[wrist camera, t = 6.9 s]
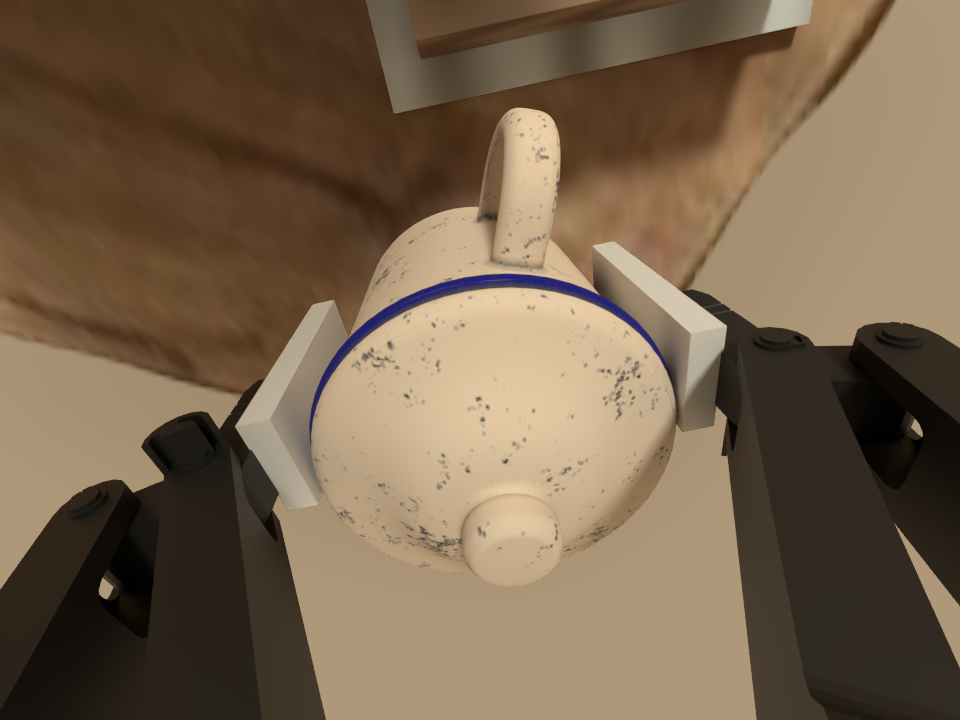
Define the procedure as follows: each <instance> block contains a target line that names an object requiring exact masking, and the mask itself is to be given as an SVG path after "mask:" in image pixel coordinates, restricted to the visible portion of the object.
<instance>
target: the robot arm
mask: <svg viewBox="0 0 960 720" xmlns="http://www.w3.org/2000/svg"><path fill="white" fill-rule="evenodd" d="M592 259H593V280H594V289H595V290H596V291H597V292H598V293H599V295H600V296H602V297H604V298H606V299H608V300H609V301H611V302H612V303H614V304H615V305H617V306H618V307H620V308H622V309H623V310H624V311H625V312H627V313H628V314H629V315H630V316H631V317H632V318H634V319H635V320H636V321H637V322H638V323H639V324H640V325H641V327H642V328H643V329H644V330H645V331H646V332H647V333H648V334H649V336H650V337H651V339H652V340H653V341H654V343H655V344H656V346H657V347H658V349H659V351H660V353H661V355H662V357H663V358H664V360H665V363H666V366H667V368H668V371H669V374H670V378H671V382H672V388H673V392H674V397H675V402H676V424H677V425H678V427H679V428H680V429H681V431H682V432H685V431H690V430H694V429H699V428H705V427H710V426H714V419H715V411H716V406H717V407H718V408H719V409H720V410H721V411H722V412H723V413H724V414H725V416H726V417H727V422H726V428H725V434H724V441H723V447H722V454H721V455H722V456H727V455H728V464H729V473H730V483H731V491H732V501H733V509H734V519H735V527H736V536H737V546H738V555H739V564H740V572H741V582H742V591H743V599H744V609H745V618H746V627H747V636H748V644H749V654H750V662H751V671H752V681H753V690H754V699H755V708H756V717H757V720H960V668H959V665H958V663H957V661H956V659H955V657H954V654H953V652H952V650H951V648H950V646H949V643H948V641H947V639H946V637H945V634H944V632H943V630H942V628H941V626H940V624H939V621H938V619H937V617H936V615H935V612H934V610H933V608H932V606H931V603H930V601H929V599H928V597H927V595H926V593H925V590H924V588H923V586H922V584H921V581H920V579H919V577H918V575H917V572H916V570H915V568H914V566H913V564H912V561H911V559H910V557H909V555H908V553H907V550H906V548H905V546H904V544H903V541H902V539H901V537H900V535H899V533H898V531H897V528H896V526H895V524H896V525H897V527H898V528H899V529H900V530H901V532H902V533H903V534H904V536H905V537H906V538H907V539H908V541H909V542H910V543H911V544H912V546H913V547H914V548H915V550H916V551H917V552H918V553H919V555H920V556H921V557H922V558H923V560H924V561H925V562H926V564H927V565H928V566H929V567H930V569H931V570H932V571H933V573H934V574H935V575H936V576H937V578H938V579H939V580H940V581H941V583H942V584H943V585H944V586H945V588H946V589H947V590H948V591H949V593H950V594H951V595H952V597H953V598H954V599H955V600H956V602H957V603H958V604H959V606H960V348H959V347H957V346H956V345H954V344H952V343H951V342H949V341H948V340H946V339H945V338H943V337H942V336H940V335H938V334H936V333H934V332H932V331H929V330H927V329H924V328H919V327H916V326H914V325H912V324H906V323H903V324H901V323H898V322H890V323H875V324H869V325H865V326H863V327H861V328H859V329H858V330H857V333H856V336H855V339H854V342H853V346H814V344H813V343H812V342H811V341H810V339H809V338H808V337H806V336H804V335H802V334H800V333H798V332H795V331H792V330H788V329H783V328H773V327H766V328H757V327H756V326H754V325H753V324H752V323H750V322H749V321H747V320H746V319H744V318H743V317H741V316H740V315H738V314H737V313H735V312H734V311H730V308H728V307H727V306H725V305H724V304H721V302H719V301H718V300H716V299H715V298H713V297H712V296H710V295H708V294H705V293H702V292H699V291H695V290H693V289H692V290H687V291H682V292H681V291H679V290H678V289H677V288H675V287H674V286H673V285H671V284H670V283H669V282H667V281H666V280H665V279H663V278H662V277H661V276H659V275H658V274H657V273H655V272H654V271H653V270H651V269H650V268H649V267H647V266H646V265H645V264H643V263H642V262H641V261H639V260H638V259H637V258H635V257H634V256H633V255H631V254H630V253H629V252H627V251H626V250H625V249H623V248H622V247H621V246H619V245H618V244H617V243H615V242H614V241H613V242H608V243H603V244H599V245H594V246H592ZM348 338H349V337H348V334H347V332H346V329H345V327H344V324H343V322H342V319H341V316H340V314H339V311H338V309H337V306H336V304H335V301H334V300H331V301H327V302H322V303H317V304H313V305H312V306H311V308H310V309H309V311H308V312H307V314H306V316H305V317H304V319H303V320H302V322H301V323H300V325H299V327H298V328H297V330H296V331H295V333H294V335H293V336H292V338H291V339H290V341H289V342H288V344H287V346H286V347H285V349H284V350H283V352H282V353H281V355H280V357H279V358H278V360H277V361H276V363H275V364H274V366H273V368H272V369H271V371H270V372H269V374H268V375H267V377H266V379H262V380H258V381H257V382H256V383H255V384H254V385H252V386H251V387H250V388H249V389H248V390H246V391H245V392H244V394H243V395H242V397H241V398H240V400H239V401H238V403H237V404H238V405H237V406H235V407H234V409H233V410H232V412H231V415H229V416H228V418H227V419H226V420H225V422H224V423H223V425H222V426H221V428H220V429H218V427H217V426H216V424H215V423H214V421H213V420H212V418H211V417H210V415H209V414H208V413H206V412H202V411H200V412H192V413H188V414H185V415H182V416H179V417H177V418H175V419H173V420H171V421H169V422H167V423H165V424H163V425H162V426H161V427H159V428H157V429H156V430H155V431H153V432H152V433H151V434H150V435H149V436H148V437H147V438H146V439H145V441H144V443H143V444H142V446H141V447H142V449H143V450H144V451H145V452H146V454H147V455H148V456H149V457H150V458H151V460H152V461H153V462H154V464H155V465H156V466H157V467H158V468H159V470H160V471H161V472H162V473H163V475H164V481H162V482H159V483H156V484H154V485H151V486H149V487H146V488H144V489H141V490H139V491H136V492H134V493H133V492H132V491H131V490H130V489H129V488H128V486H127V485H126V484H125V483H124V482H123V481H122V480H110V481H105V482H102V483H99V484H97V485H94V486H91V487H88V488H86V489H84V490H83V492H79V493H77V494H76V495H74V496H73V497H72V498H71V499H70V500H69V501H68V502H67V503H65V504H64V505H63V506H62V507H61V508H60V509H59V510H58V511H57V512H56V513H55V514H54V515H53V517H52V518H51V519H50V521H49V522H48V524H47V525H46V526H45V528H44V529H43V531H42V532H41V533H40V535H39V536H38V538H37V539H36V540H35V542H34V543H33V545H32V546H31V548H30V549H29V550H28V552H27V553H26V554H25V556H24V557H23V559H22V560H21V561H20V563H19V564H18V566H17V567H16V569H15V570H14V571H13V573H12V574H11V576H10V577H9V578H8V580H7V581H6V583H5V584H4V585H3V587H2V588H1V589H0V720H326V718H325V714H324V710H323V706H322V701H321V697H320V693H319V688H318V684H317V680H316V675H315V671H314V667H313V662H312V658H311V654H310V650H309V645H308V641H307V637H306V633H305V629H304V624H303V619H302V615H301V611H300V607H299V602H298V598H297V594H296V589H295V585H294V581H293V577H292V572H291V568H290V564H289V559H288V555H287V551H286V547H285V542H284V538H283V534H282V529H281V525H280V521H279V520H278V518H277V516H276V515H275V513H274V512H273V510H272V509H273V506H274V504H275V501H276V499H277V496H278V495H279V497H280V499H281V500H282V502H283V503H284V505H285V506H286V508H287V510H288V511H289V510H295V509H300V508H305V507H310V506H315V505H318V504H319V501H320V497H321V494H322V488H321V486H320V484H319V481H318V479H317V476H316V473H315V469H314V466H313V460H312V453H311V446H310V437H309V423H310V414H311V408H312V404H313V400H314V396H315V392H316V390H317V387H318V385H319V382H320V380H321V377H322V376H323V374H324V372H325V370H326V368H327V366H328V365H329V363H330V361H331V360H332V358H333V357H334V356H335V354H336V353H337V351H338V350H339V349H340V347H341V346H342V345H343V344H344V343H345V342H346V341H347V340H348ZM914 419H916V420H917V421H918V423H919V424H920V427H921V429H922V432H923V437H921V436H919V435H918V434H917V433H916V432H915V431H914V430H913V429H912V428H911V426H912V424H913V421H914ZM894 523H895V524H894ZM102 578H104V579H105V580H106V581H107V582H109V583H110V584H111V585H112V586H113V587H114V588H113V590H112V592H111V594H110V596H109V598H108V599H104V598H103V597H101V596H100V595H99V587H100V583H101V580H102Z"/></svg>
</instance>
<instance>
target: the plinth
mask: <svg viewBox="0 0 960 720" xmlns="http://www.w3.org/2000/svg"><path fill="white" fill-rule="evenodd" d="M365 1H366V5H367V9H368V13H369V17H370V21H371V25H372V29H373V33H374V37H375V41H376V45H377V49H378V52H379V56H380V60H381V64H382V68H383V72H384V76H385V80H386V84H387V88H388V92H389V96H390V100H391V104H392V108H393V112H394V114H396V113H401V112H406V111H410V110H415V109H419V108H424V107H429V106H433V105H438V104H442V103H447V102H452V101H456V100H461V99H465V98H470V97H475V96H479V95H484V94H488V93H493V92H498V91H502V90H507V89H511V88H516V87H521V86H525V85H530V84H534V83H539V82H544V81H548V80H553V79H557V78H562V77H567V76H571V75H576V74H580V73H585V72H590V71H594V70H599V69H603V68H608V67H613V66H617V65H622V64H626V63H631V62H636V61H640V60H645V59H649V58H654V57H659V56H663V55H668V54H672V53H677V52H682V51H686V50H691V49H695V48H700V47H705V46H709V45H714V44H718V43H723V42H728V41H732V40H737V39H741V38H746V37H751V36H755V35H760V34H764V33H769V32H773V31H778V30H783V29H787V28H792V27H796V26H801V25H804V24H808V23H809V22H810V16H811V10H812V4H813V0H365Z"/></svg>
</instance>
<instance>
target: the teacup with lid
mask: <svg viewBox="0 0 960 720" xmlns="http://www.w3.org/2000/svg"><path fill="white" fill-rule="evenodd" d="M559 179H560V139H559V134H558V130H557V127H556V125H555V122H554V121H553V119H552V118H551V117H550V116H549V115H548V114H546V113H544V112H542V111H539V110H533V109H527V108H514V109H511V110H509V111H508V112H507V113H506V114H505V115H504V116H503V117H502V118H501V120H500V121H499V123H498V125H497V127H496V129H495V132H494V135H493V138H492V141H491V144H490V148H489V152H488V156H487V160H486V165H485V170H484V176H483V182H482V188H481V195H480V202H479V207H464V208H456V209H451V210H447V211H443V212H440V213H437V214H434V215H432V216H430V217H428V218H425V219H423V220H421V221H420V222H418V223H416V224H415V225H413V226H412V227H410V228H409V229H408V230H406V231H405V232H404V233H403V234H401V235H400V236H399V237H398V238H397V239H396V240H395V241H394V242H393V243H392V245H391V246H390V247H389V248H388V249H387V251H386V252H385V254H384V255H383V256H382V258H381V260H380V262H379V263H378V265H377V267H376V270H375V272H374V275H373V277H372V280H371V282H370V285H369V287H368V290H367V292H366V295H365V298H364V300H363V303H362V305H361V308H360V310H359V313H358V316H357V318H356V321H355V323H354V326H353V328H352V331H351V334H350V336H349V338H348V340H347V341H346V342H345V343H344V344H343V345H342V346H341V347H340V349H339V350H338V351H337V353H336V354H335V356H334V357H333V358H332V360H331V361H330V363H329V365H328V366H327V368H326V370H325V372H324V374H323V376H322V377H321V380H320V382H319V385H318V387H317V390H316V392H315V396H314V400H313V404H312V408H311V414H310V423H309V437H310V446H311V453H312V460H313V466H314V469H315V473H316V476H317V479H318V481H319V484H320V486H321V488H322V491H323V493H324V494H325V497H326V498H327V500H328V502H329V503H330V505H331V507H332V508H333V510H334V511H335V512H336V514H337V515H338V516H339V517H340V519H341V520H342V521H343V522H344V523H345V524H346V525H347V526H348V527H349V528H350V529H351V530H352V531H353V532H354V533H356V534H357V535H358V536H359V537H360V538H361V539H363V540H364V541H366V542H367V543H369V544H370V545H371V546H373V547H375V548H376V549H378V550H380V551H382V552H383V553H385V554H387V555H389V556H392V557H394V558H396V559H398V560H401V561H404V562H406V563H409V564H412V565H416V566H419V567H423V568H427V569H431V570H436V571H441V572H448V573H457V574H473V575H476V576H477V577H479V578H480V579H482V580H483V581H485V582H487V583H490V584H493V585H497V586H507V587H509V586H520V585H525V584H529V583H532V582H534V581H537V580H539V579H541V578H543V577H544V576H546V575H547V574H548V573H549V572H550V571H551V570H552V569H553V568H554V567H555V566H556V564H557V563H558V561H559V560H561V559H564V558H566V557H569V556H571V555H574V554H576V553H578V552H580V551H582V550H584V549H586V548H588V547H590V546H591V545H593V544H595V543H597V542H598V541H600V540H602V539H603V538H605V537H606V536H608V535H609V534H611V533H612V532H613V531H615V530H616V529H617V528H619V527H620V526H621V525H622V524H624V523H625V522H626V521H627V520H628V519H629V518H630V517H631V516H632V515H633V514H634V513H635V512H636V511H637V510H638V509H639V508H640V507H641V506H642V505H643V503H644V502H645V501H646V500H647V499H648V497H649V496H650V495H651V493H652V491H653V490H654V489H655V487H656V486H657V484H658V482H659V480H660V479H661V477H662V475H663V473H664V471H665V468H666V466H667V464H668V461H669V459H670V455H671V452H672V449H673V443H674V437H675V432H676V402H675V397H674V392H673V388H672V382H671V378H670V374H669V371H668V368H667V366H666V363H665V360H664V358H663V357H662V355H661V353H660V351H659V349H658V347H657V346H656V344H655V343H654V341H653V340H652V339H651V337H650V336H649V334H648V333H647V332H646V331H645V330H644V329H643V328H642V327H641V325H640V324H639V323H638V322H637V321H636V320H635V319H634V318H632V317H631V316H630V315H629V314H628V313H627V312H625V311H624V310H623V309H622V308H620V307H618V306H617V305H615V304H614V303H612V302H611V301H609V300H608V299H606V298H604V297H602V296H600V295H599V293H598V292H597V291H596V290H595V289H594V288H593V286H592V285H591V284H590V283H589V282H588V281H587V279H586V278H585V277H584V276H583V275H582V274H581V272H580V271H579V270H578V269H577V268H576V267H575V265H574V264H573V263H572V262H571V261H570V260H569V258H568V257H567V256H566V255H565V254H564V253H563V251H562V250H561V249H560V248H559V247H558V246H557V245H556V243H555V242H554V241H553V240H552V239H551V238H550V234H551V229H552V224H553V219H554V214H555V209H556V203H557V196H558V189H559Z"/></svg>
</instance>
